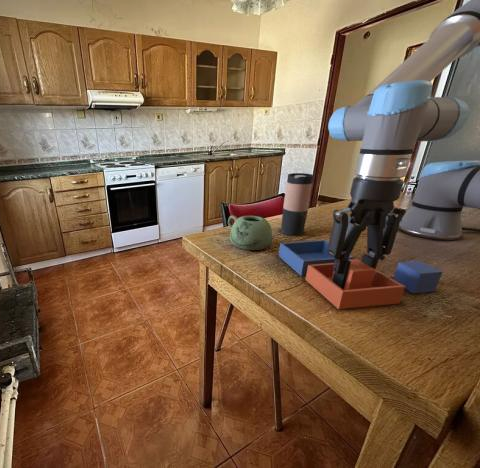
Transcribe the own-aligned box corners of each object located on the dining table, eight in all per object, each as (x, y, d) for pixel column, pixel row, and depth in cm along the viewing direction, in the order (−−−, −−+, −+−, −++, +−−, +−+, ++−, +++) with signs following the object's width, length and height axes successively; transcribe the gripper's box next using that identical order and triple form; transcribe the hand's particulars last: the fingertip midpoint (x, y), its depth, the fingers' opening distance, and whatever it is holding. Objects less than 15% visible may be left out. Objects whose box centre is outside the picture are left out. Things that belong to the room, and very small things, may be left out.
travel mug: (299, 228, 94) (308, 172, 86) (307, 236, 86) (318, 176, 79) (277, 228, 94) (284, 173, 87) (283, 236, 87) (292, 176, 80)
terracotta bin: (356, 275, 63) (360, 260, 61) (399, 303, 52) (405, 286, 51) (305, 279, 62) (308, 264, 60) (338, 309, 51) (342, 292, 50)
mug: (280, 245, 81) (283, 218, 77) (253, 256, 74) (256, 228, 71) (239, 231, 93) (241, 208, 90) (214, 240, 86) (215, 215, 83)
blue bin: (321, 252, 75) (324, 239, 73) (351, 271, 64) (354, 257, 63) (278, 256, 74) (280, 243, 72) (301, 276, 63) (303, 261, 62)
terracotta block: (351, 278, 59) (356, 258, 57) (369, 290, 54) (375, 269, 52) (331, 279, 58) (335, 260, 57) (347, 292, 54) (353, 271, 52)
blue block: (412, 279, 60) (418, 260, 58) (434, 291, 55) (442, 271, 54) (392, 281, 60) (398, 262, 58) (413, 293, 55) (421, 273, 53)
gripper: (348, 183, 44) (322, 297, 52) (444, 178, 45) (404, 290, 53) (319, 176, 51) (301, 278, 59) (403, 172, 52) (373, 272, 60)
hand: (350, 284), depth 56 cm, fingers closed on terracotta block, 5 cm apart
